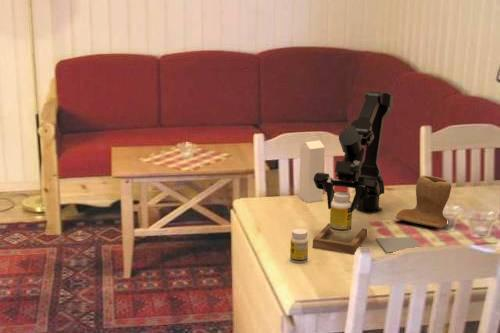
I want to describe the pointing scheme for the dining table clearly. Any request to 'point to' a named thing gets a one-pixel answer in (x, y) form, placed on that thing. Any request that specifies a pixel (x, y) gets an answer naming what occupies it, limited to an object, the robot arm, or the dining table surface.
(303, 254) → the supplement bottle
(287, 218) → the dining table surface
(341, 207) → the pill bottle
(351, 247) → the open wooden u-frame
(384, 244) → the coaster
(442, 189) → the brown boot
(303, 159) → the milk
